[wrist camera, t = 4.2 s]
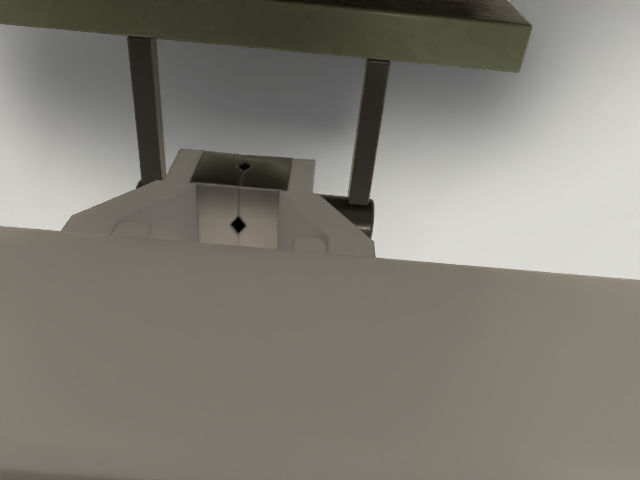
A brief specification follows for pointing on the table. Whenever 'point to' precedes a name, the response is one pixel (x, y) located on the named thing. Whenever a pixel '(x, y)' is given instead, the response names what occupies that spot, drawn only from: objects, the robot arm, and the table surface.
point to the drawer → (296, 36)
